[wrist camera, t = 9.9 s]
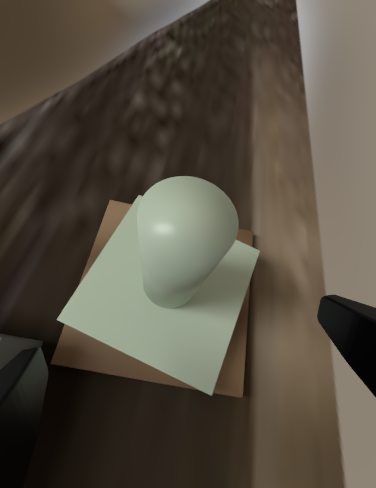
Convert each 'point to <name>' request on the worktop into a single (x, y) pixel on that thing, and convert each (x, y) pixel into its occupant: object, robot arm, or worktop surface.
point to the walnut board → (120, 364)
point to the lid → (169, 282)
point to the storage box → (14, 347)
